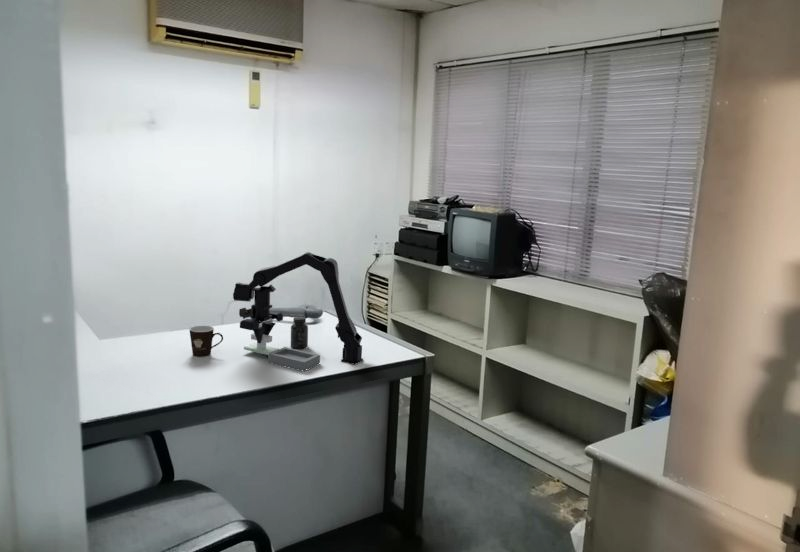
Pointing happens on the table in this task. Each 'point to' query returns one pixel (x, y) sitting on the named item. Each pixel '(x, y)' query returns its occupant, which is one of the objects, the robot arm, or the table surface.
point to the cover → (261, 345)
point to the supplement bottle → (299, 333)
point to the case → (294, 358)
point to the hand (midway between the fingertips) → (261, 342)
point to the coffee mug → (202, 340)
